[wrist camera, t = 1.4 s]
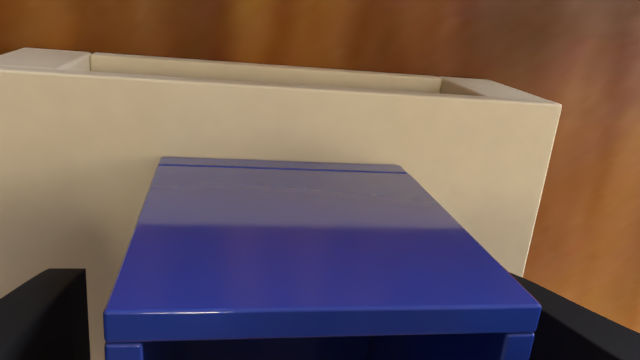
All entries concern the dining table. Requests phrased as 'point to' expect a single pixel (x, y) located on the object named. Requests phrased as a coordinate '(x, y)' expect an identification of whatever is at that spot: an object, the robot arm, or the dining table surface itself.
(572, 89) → the dining table surface
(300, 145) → the beige flat block
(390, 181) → the box
